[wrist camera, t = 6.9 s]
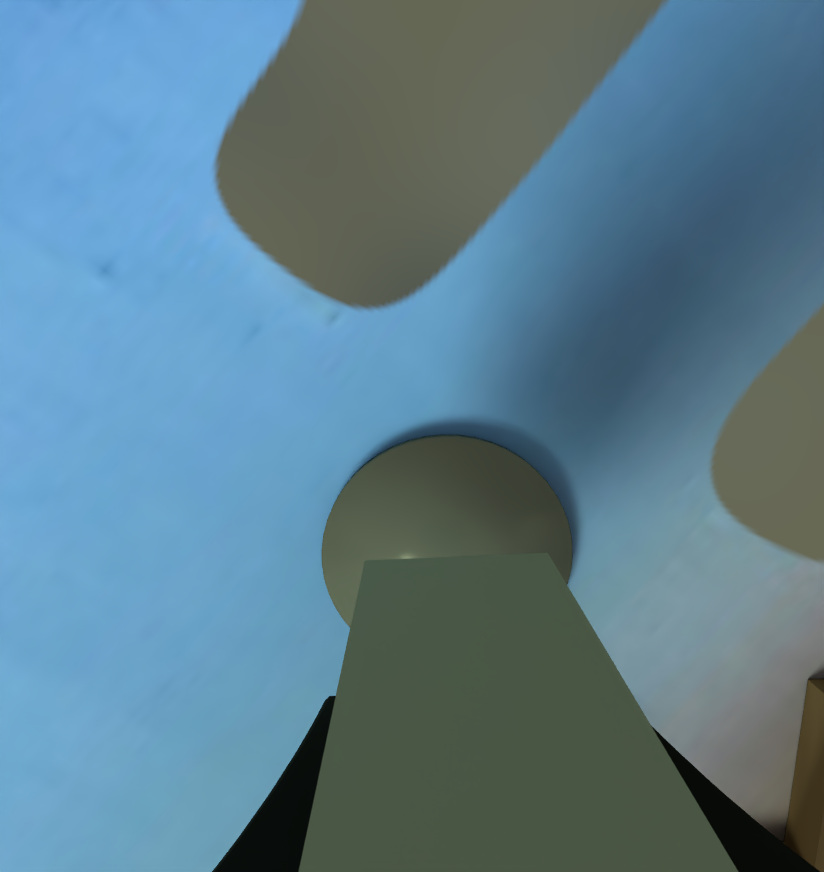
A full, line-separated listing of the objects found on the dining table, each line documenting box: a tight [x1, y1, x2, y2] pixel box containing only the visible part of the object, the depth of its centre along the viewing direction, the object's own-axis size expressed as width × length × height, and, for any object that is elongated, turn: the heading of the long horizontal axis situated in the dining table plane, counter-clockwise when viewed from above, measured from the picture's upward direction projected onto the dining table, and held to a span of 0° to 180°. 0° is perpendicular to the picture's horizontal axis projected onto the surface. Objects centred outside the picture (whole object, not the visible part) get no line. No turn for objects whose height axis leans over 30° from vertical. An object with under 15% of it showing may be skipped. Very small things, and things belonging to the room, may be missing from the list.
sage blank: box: [299, 553, 738, 872], centre depth 9 cm, size 4×5×8 cm
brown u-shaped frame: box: [782, 679, 824, 872], centre depth 19 cm, size 15×9×2 cm, turn 93°
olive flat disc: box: [322, 435, 572, 627], centre depth 18 cm, size 9×9×1 cm
